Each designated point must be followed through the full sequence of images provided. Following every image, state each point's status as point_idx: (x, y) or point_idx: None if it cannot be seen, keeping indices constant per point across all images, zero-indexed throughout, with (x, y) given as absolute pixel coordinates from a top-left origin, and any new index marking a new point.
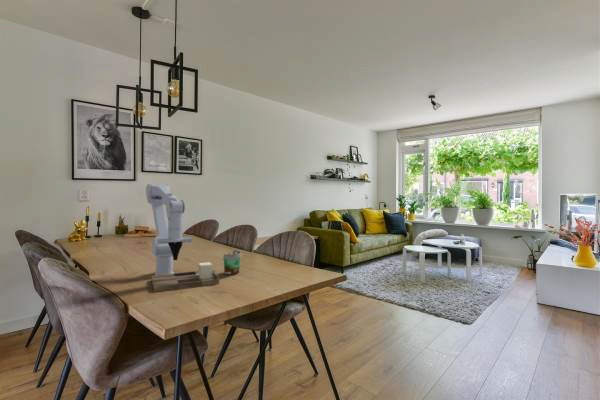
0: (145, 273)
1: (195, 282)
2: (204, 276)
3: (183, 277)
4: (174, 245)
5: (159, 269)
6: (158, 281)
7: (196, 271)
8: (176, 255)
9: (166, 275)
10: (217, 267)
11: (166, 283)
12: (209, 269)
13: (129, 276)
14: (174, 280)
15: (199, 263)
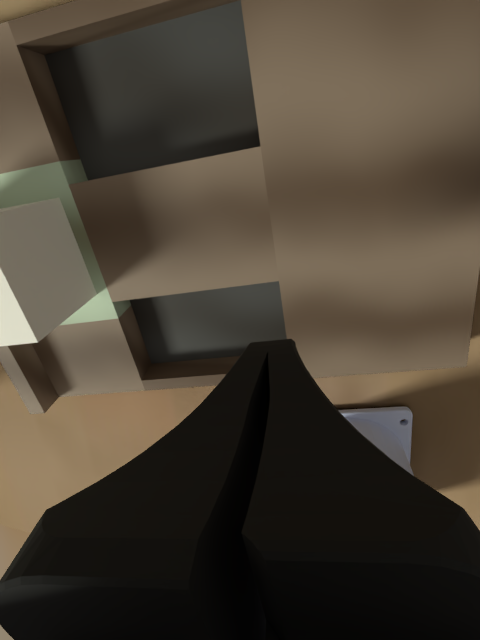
0: (458, 504)
1: (71, 4)
2: (28, 203)
3: (207, 231)
4: (286, 533)
5: (396, 459)
6: (439, 146)
7: (128, 381)
8: (250, 371)
9: (347, 340)
10: (48, 486)
11: (369, 24)
12: None
13: None
14: (284, 142)
15: (25, 331)
